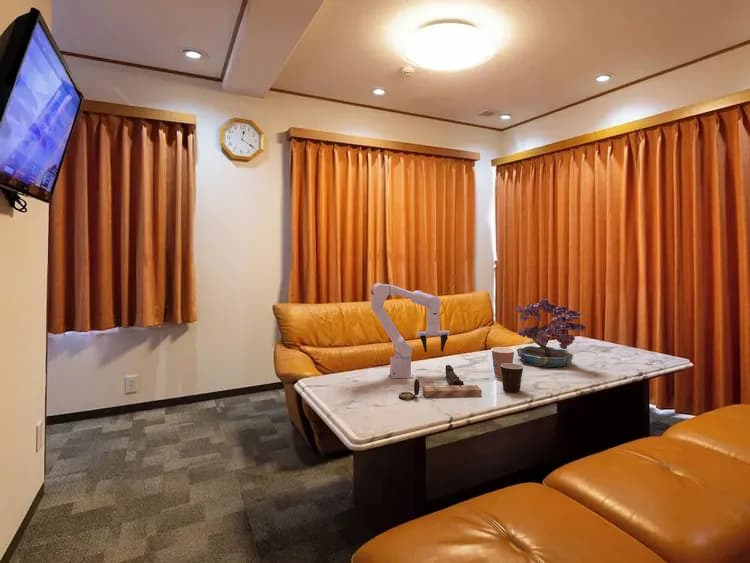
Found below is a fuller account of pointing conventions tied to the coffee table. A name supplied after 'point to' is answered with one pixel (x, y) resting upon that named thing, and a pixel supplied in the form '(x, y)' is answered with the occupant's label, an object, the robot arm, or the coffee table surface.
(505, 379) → the coffee mug
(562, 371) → the coffee table surface
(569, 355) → the bonsai tree
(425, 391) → the light brown wooden board
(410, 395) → the compass
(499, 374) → the coffee cup
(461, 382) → the hand tool
